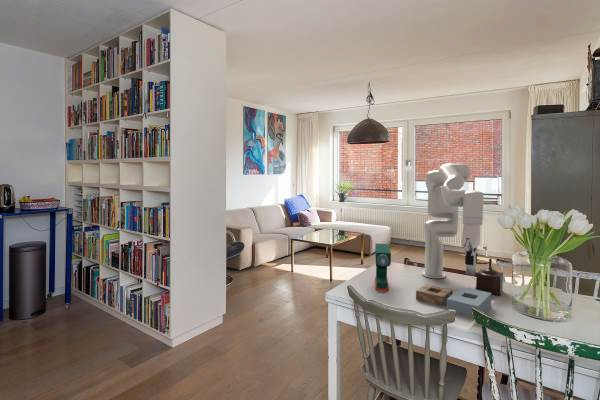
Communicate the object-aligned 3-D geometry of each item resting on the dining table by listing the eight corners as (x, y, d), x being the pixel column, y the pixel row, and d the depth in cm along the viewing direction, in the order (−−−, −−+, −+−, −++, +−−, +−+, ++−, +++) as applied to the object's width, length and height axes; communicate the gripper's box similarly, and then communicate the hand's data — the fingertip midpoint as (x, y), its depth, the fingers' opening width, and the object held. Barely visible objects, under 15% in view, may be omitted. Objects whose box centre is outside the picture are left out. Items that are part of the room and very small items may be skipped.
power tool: (391, 301, 157) (392, 258, 156) (375, 300, 159) (376, 257, 157) (388, 279, 188) (388, 243, 187) (374, 278, 190) (375, 243, 188)
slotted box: (462, 299, 159) (462, 286, 158) (490, 306, 151) (491, 292, 150) (446, 312, 144) (446, 298, 143) (477, 321, 136) (478, 306, 135)
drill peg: (467, 272, 148) (468, 249, 148) (476, 274, 146) (477, 251, 145) (464, 274, 146) (465, 251, 145) (473, 276, 143) (474, 252, 143)
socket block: (426, 294, 166) (426, 284, 165) (452, 300, 158) (452, 289, 157) (415, 301, 157) (416, 290, 157) (442, 308, 149) (442, 296, 148)
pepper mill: (503, 290, 170) (505, 254, 169) (499, 297, 162) (501, 259, 160) (469, 284, 180) (470, 250, 178) (463, 290, 171) (465, 254, 170)
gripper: (469, 218, 153) (467, 258, 154) (456, 222, 140) (454, 266, 142) (487, 219, 148) (486, 261, 149) (476, 223, 135) (474, 269, 137)
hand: (470, 263), depth 146 cm, fingers closed on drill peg, 3 cm apart
